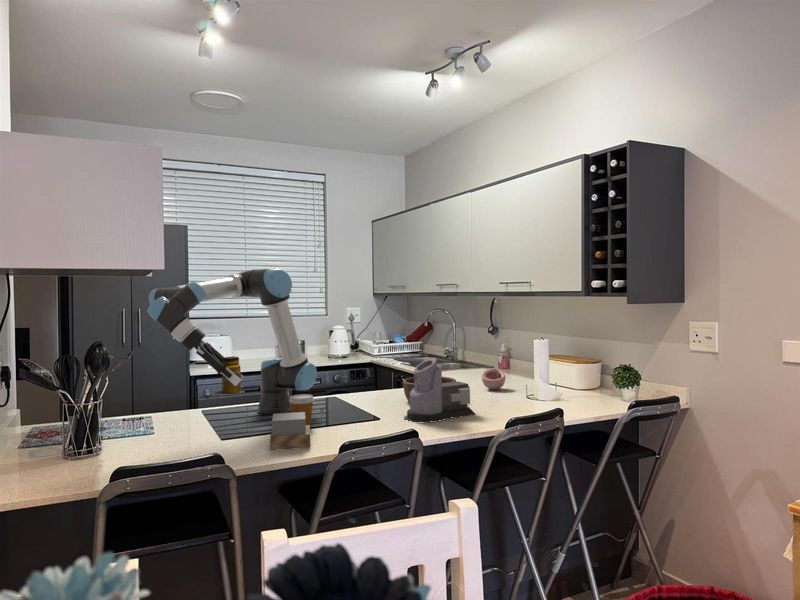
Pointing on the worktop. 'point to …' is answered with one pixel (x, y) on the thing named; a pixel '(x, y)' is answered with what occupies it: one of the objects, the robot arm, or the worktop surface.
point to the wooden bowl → (409, 385)
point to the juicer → (436, 395)
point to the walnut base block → (291, 440)
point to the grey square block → (288, 423)
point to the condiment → (226, 384)
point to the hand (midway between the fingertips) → (239, 381)
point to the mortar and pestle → (493, 379)
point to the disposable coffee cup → (302, 405)
